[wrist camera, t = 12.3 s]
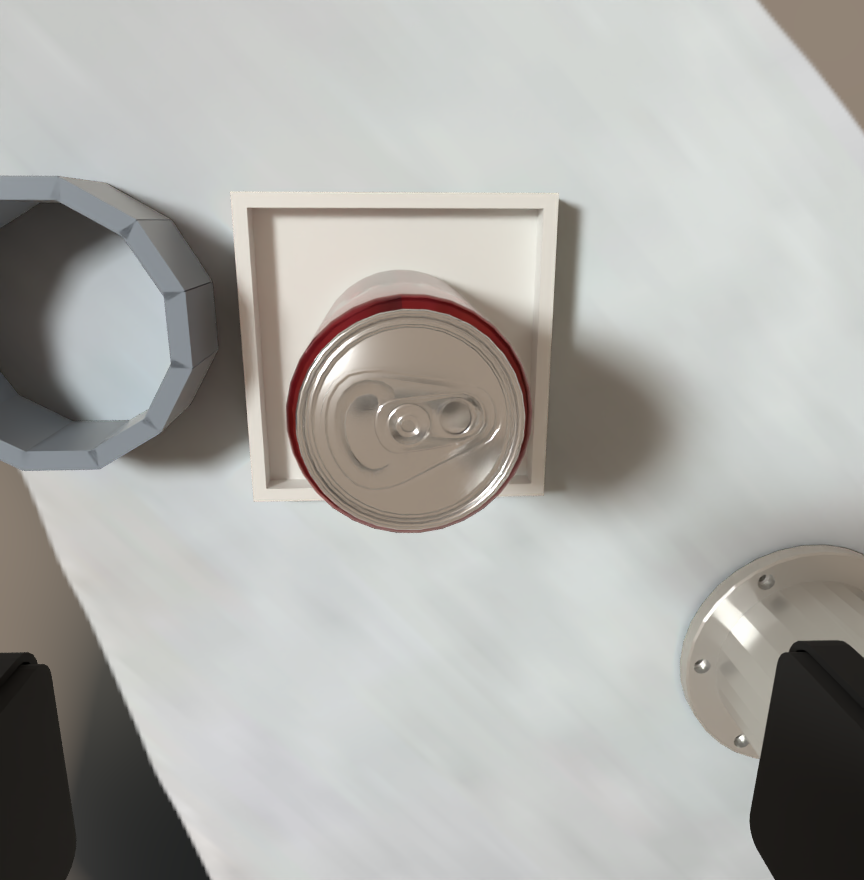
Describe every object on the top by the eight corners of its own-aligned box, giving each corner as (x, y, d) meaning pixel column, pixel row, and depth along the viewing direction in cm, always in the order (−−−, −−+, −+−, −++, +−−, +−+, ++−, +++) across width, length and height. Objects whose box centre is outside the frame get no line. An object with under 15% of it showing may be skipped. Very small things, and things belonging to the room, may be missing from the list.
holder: (204, 182, 30) (174, 176, 26) (225, 435, 33) (202, 467, 29) (-71, 181, 29) (-149, 174, 25) (-22, 439, 32) (-83, 472, 28)
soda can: (328, 436, 33) (299, 552, 21) (309, 274, 31) (266, 306, 19) (485, 423, 33) (540, 530, 22) (478, 262, 31) (534, 286, 20)
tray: (549, 194, 31) (559, 192, 29) (535, 481, 35) (543, 495, 33) (239, 193, 30) (230, 191, 28) (260, 487, 34) (253, 501, 32)
